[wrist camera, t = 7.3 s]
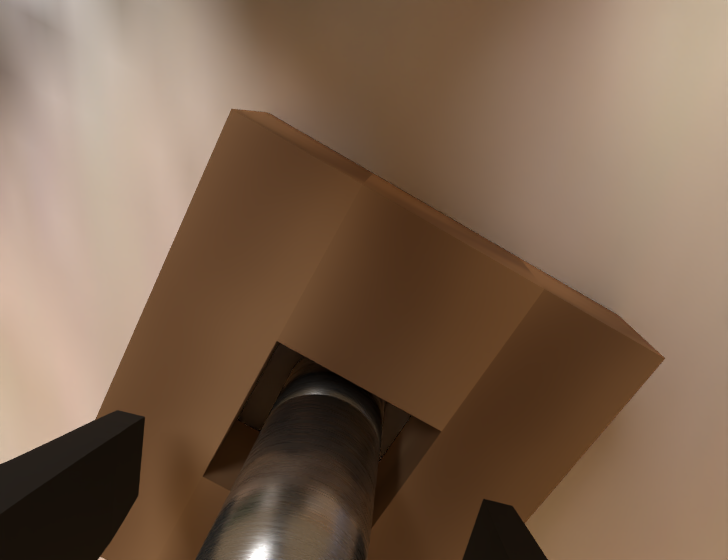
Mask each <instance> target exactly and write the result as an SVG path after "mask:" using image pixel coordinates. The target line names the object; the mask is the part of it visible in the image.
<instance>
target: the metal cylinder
mask: <svg viewBox="0 0 728 560" xmlns="http://www.w3.org/2000/svg"><path fill="white" fill-rule="evenodd" d="M384 408H385V400H383V399H382V398H380V397H378V396H376V395H374V394H373V393H371V392H369V391H367V390H365V389H363V388H362V387H360V386H358V385H356V384H354V383H352V382H351V381H349V380H347V379H345V378H343V377H342V376H340V375H338V374H336V373H334V372H332V371H331V370H329V369H327V368H325V367H323V366H322V365H320V364H318V363H316V362H314V361H312V360H311V359H309V358H307V357H305V356H304V357H303V358H302V359H301V360H300V361H299V362H298V363H297V364H296V365H295V366H294V368H293V369H292V371H291V373H290V375H289V377H288V379H287V381H286V383H285V385H284V387H283V389H282V390H281V392H280V394H279V396H278V398H277V400H276V402H275V404H274V406H273V408H272V410H271V412H270V414H269V416H268V418H267V420H266V422H265V424H264V426H263V428H262V430H261V432H260V434H259V435H258V437H257V439H256V441H255V443H254V445H253V447H252V449H251V451H250V453H249V455H248V457H247V459H246V461H245V463H244V465H243V467H242V469H241V471H240V473H239V475H238V477H237V479H236V480H235V482H234V484H233V486H232V488H231V490H230V492H229V494H228V496H227V498H226V500H225V502H224V504H223V506H222V508H221V510H220V512H219V514H218V516H217V518H216V520H215V522H214V524H213V525H212V527H211V529H210V531H209V533H208V535H207V537H206V539H205V541H204V543H203V545H202V547H201V549H200V551H199V553H198V555H197V557H196V559H195V560H368V553H369V544H370V535H371V526H372V517H373V508H374V499H375V490H376V481H377V472H378V463H379V454H380V445H381V436H382V426H383V417H384Z"/></svg>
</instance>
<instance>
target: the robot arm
mask: <svg viewBox="0 0 728 560" xmlns="http://www.w3.org/2000/svg"><path fill="white" fill-rule="evenodd" d="M144 424H145V417H144V416H140V415H136V414H132V413H128V412H123V411H119V410H116V411H114V412H112V413H109V414H107V415H105V416H103V417H100V418H98V419H96V420H94V421H92V422H90V423H88V424H86V425H84V426H82V427H79V428H77V429H75V430H73V431H71V432H69V433H67V434H65V435H63V436H61V437H59V438H57V439H54V440H52V441H50V442H48V443H46V444H44V445H42V446H40V447H37V448H35V449H33V450H31V451H29V452H27V453H25V454H23V455H20V456H18V457H16V458H14V459H12V460H9V461H7V462H5V463H2V464H0V560H98V559H99V557H100V556H101V555H102V553H103V552H104V551H105V549H106V548H107V546H108V545H109V544H110V542H111V541H112V539H113V538H114V536H115V534H116V533H117V531H118V530H119V528H120V526H121V525H122V523H123V521H124V520H125V518H126V516H127V515H128V513H129V511H130V509H131V508H132V506H133V504H134V502H135V501H136V499H137V497H138V495H139V483H140V471H141V460H142V448H143V436H144ZM462 560H548V559H547V558H546V556H545V555H544V553H543V552H542V550H541V549H540V547H539V546H538V544H537V543H536V541H535V539H534V538H533V536H532V535H531V533H530V532H529V530H528V528H527V527H526V525H525V524H524V522H523V521H522V519H521V518H520V516H519V515H518V513H517V512H516V510H515V509H514V507H513V506H511V505H507V504H503V503H499V502H495V501H491V500H487V499H483V501H482V504H481V507H480V510H479V513H478V515H477V518H476V521H475V524H474V527H473V530H472V533H471V536H470V539H469V542H468V545H467V547H466V550H465V553H464V556H463V559H462Z"/></svg>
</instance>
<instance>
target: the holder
mask: <svg viewBox="0 0 728 560" xmlns="http://www.w3.org/2000/svg"><path fill="white" fill-rule="evenodd" d="M279 343H281V344H283V345H285V346H287V347H289V348H291V349H292V350H294V351H296V352H298V353H300V354H301V355H303V356H305V357H307V358H309V359H311V360H312V361H314V362H316V363H318V364H320V365H322V366H323V367H325V368H327V369H329V370H331V371H332V372H334V373H336V374H338V375H340V376H342V377H343V378H345V379H347V380H349V381H351V382H352V383H354V384H356V385H358V386H360V387H362V388H363V389H365V390H367V391H369V392H371V393H373V394H374V395H376V396H378V397H380V398H382V399H383V400H385V401H387V402H389V403H391V404H393V405H394V406H396V407H398V408H400V409H402V410H403V411H405V412H407V413H409V414H411V415H412V416H411V417H410V419H409V420H408V422H407V423H406V425H405V426H404V427H403V429H402V430H401V432H400V433H399V435H398V436H397V438H396V439H395V441H394V442H393V443H392V445H391V446H390V448H389V449H388V451H387V452H386V454H385V455H384V456H383V458H382V459H381V461H380V462H379V464H378V472H377V481H376V490H375V499H374V508H373V517H372V526H371V535H370V544H369V553H368V560H462V559H463V556H464V553H465V550H466V547H467V545H468V542H469V539H470V536H471V533H472V530H473V527H474V524H475V521H476V518H477V515H478V513H479V510H480V507H481V504H482V501H483V499H487V500H491V501H495V502H499V503H503V504H507V505H511V506H513V507H514V509H515V510H516V512H517V513H518V515H519V516H520V518H521V519H522V521H523V522H524V523H525V522H526V521H527V520H528V519H529V518H530V516H531V515H532V514H533V513H534V512H535V511H536V509H537V508H538V507H539V506H540V505H541V504H542V502H543V501H544V500H545V499H546V498H547V497H548V495H549V494H550V493H551V492H552V491H553V489H554V488H555V487H556V486H557V485H558V484H559V482H560V481H561V480H562V479H563V478H564V477H565V475H566V474H567V473H568V472H569V471H570V470H571V468H572V467H573V466H574V465H575V464H576V462H577V461H578V460H579V459H580V458H581V457H582V455H583V454H584V453H585V452H586V451H587V450H588V448H589V447H590V446H591V445H592V444H593V443H594V441H595V440H596V439H597V438H598V437H599V435H600V434H601V433H602V432H603V431H604V430H605V428H606V427H607V426H608V425H609V424H610V423H611V421H612V420H613V419H614V418H615V417H616V416H617V414H618V413H619V412H620V411H621V410H622V409H623V407H624V406H625V405H626V404H627V403H628V401H629V400H630V399H631V398H632V397H633V396H634V394H635V393H636V392H637V391H638V390H639V389H640V387H641V386H642V385H643V384H644V383H645V382H646V380H647V379H648V378H649V377H650V376H651V374H652V373H653V372H654V371H655V370H656V369H657V367H658V366H659V365H660V364H661V363H662V362H663V360H664V359H665V358H664V357H663V356H662V355H661V354H660V353H659V352H658V351H656V350H655V349H654V348H653V347H652V346H651V345H650V344H649V343H648V342H647V341H646V340H645V339H643V338H642V337H641V336H640V335H639V334H638V333H637V332H636V331H635V330H634V329H633V328H632V327H630V326H629V325H628V324H627V323H626V322H625V321H624V320H623V319H622V318H621V317H620V316H619V315H617V314H615V313H614V312H612V311H610V310H608V309H607V308H605V307H603V306H601V305H600V304H598V303H596V302H594V301H593V300H591V299H589V298H588V297H586V296H584V295H582V294H581V293H579V292H577V291H575V290H574V289H572V288H570V287H569V286H567V285H565V284H563V283H562V282H560V281H558V280H556V279H555V278H553V277H551V276H550V275H548V274H546V273H544V272H543V271H541V270H539V269H537V268H536V267H534V266H532V265H531V264H529V263H527V262H525V261H524V260H522V259H520V258H518V257H517V256H515V255H513V254H511V253H510V252H508V251H506V250H505V249H503V248H501V247H499V246H498V245H496V244H494V243H492V242H491V241H489V240H487V239H486V238H484V237H482V236H480V235H479V234H477V233H475V232H473V231H472V230H470V229H468V228H467V227H465V226H463V225H461V224H460V223H458V222H456V221H454V220H453V219H451V218H449V217H447V216H446V215H444V214H442V213H441V212H439V211H437V210H435V209H434V208H432V207H430V206H428V205H427V204H425V203H423V202H422V201H420V200H418V199H416V198H415V197H413V196H411V195H409V194H408V193H406V192H404V191H403V190H401V189H399V188H397V187H396V186H394V185H392V184H390V183H389V182H387V181H385V180H384V179H382V178H380V177H378V176H377V175H375V174H373V173H371V172H370V171H368V170H366V169H364V168H363V167H361V166H359V165H358V164H356V163H354V162H352V161H351V160H349V159H347V158H345V157H344V156H342V155H340V154H339V153H337V152H335V151H333V150H332V149H330V148H328V147H326V146H325V145H323V144H321V143H320V142H318V141H316V140H314V139H313V138H311V137H309V136H307V135H306V134H304V133H302V132H300V131H299V130H297V129H295V128H294V127H292V126H290V125H288V124H287V123H285V122H283V121H281V120H280V119H278V118H276V117H275V116H273V115H271V114H269V113H266V112H257V111H247V110H238V109H231V111H230V114H229V116H228V118H227V121H226V123H225V125H224V127H223V130H222V132H221V134H220V137H219V139H218V141H217V143H216V146H215V148H214V150H213V152H212V155H211V157H210V159H209V162H208V164H207V166H206V168H205V171H204V173H203V175H202V178H201V180H200V182H199V184H198V187H197V189H196V191H195V194H194V196H193V198H192V200H191V203H190V205H189V207H188V210H187V212H186V214H185V216H184V219H183V221H182V223H181V225H180V228H179V230H178V232H177V235H176V237H175V239H174V241H173V244H172V246H171V248H170V251H169V253H168V255H167V257H166V260H165V262H164V264H163V267H162V269H161V271H160V273H159V276H158V278H157V280H156V283H155V285H154V287H153V289H152V292H151V294H150V296H149V298H148V301H147V303H146V305H145V308H144V310H143V312H142V314H141V317H140V319H139V321H138V324H137V326H136V328H135V330H134V333H133V335H132V337H131V340H130V342H129V344H128V346H127V349H126V351H125V353H124V356H123V358H122V360H121V362H120V365H119V367H118V369H117V371H116V374H115V376H114V378H113V381H112V383H111V385H110V387H109V390H108V392H107V394H106V397H105V399H104V401H103V403H102V406H101V408H100V410H99V413H98V415H97V417H96V419H98V418H100V417H103V416H105V415H107V414H109V413H112V412H114V411H116V410H119V411H123V412H128V413H132V414H136V415H140V416H144V417H145V424H144V436H143V448H142V460H141V471H140V483H139V495H138V497H137V499H136V501H135V502H134V504H133V506H132V508H131V509H130V511H129V513H128V515H127V516H126V518H125V520H124V521H123V523H122V525H121V526H120V528H119V530H118V531H117V533H116V534H115V536H114V538H113V539H112V541H111V542H110V544H109V545H108V546H107V548H106V549H105V551H104V552H103V553H102V555H101V556H100V557H102V558H104V559H106V560H195V559H196V557H197V555H198V553H199V551H200V549H201V547H202V545H203V543H204V541H205V539H206V537H207V535H208V533H209V531H210V529H211V527H212V525H213V524H214V522H215V520H216V518H217V516H218V514H219V512H220V510H221V508H222V506H223V504H224V502H225V500H226V498H227V496H228V494H229V492H230V490H231V488H232V486H233V484H234V482H235V480H236V479H237V477H238V475H239V473H240V471H241V469H242V467H243V465H244V463H245V461H246V459H247V457H248V455H249V453H250V451H251V449H252V447H253V445H254V443H255V441H256V439H257V437H258V435H259V434H260V432H259V431H257V430H255V429H253V428H251V427H249V426H248V425H246V424H244V423H242V422H240V421H238V420H237V419H238V417H239V415H240V413H241V412H242V410H243V408H244V406H245V404H246V403H247V401H248V399H249V397H250V395H251V394H252V392H253V390H254V388H255V386H256V384H257V383H258V381H259V379H260V377H261V375H262V374H263V372H264V370H265V368H266V366H267V365H268V363H269V361H270V359H271V357H272V355H273V354H274V352H275V350H276V348H277V346H278V345H279ZM96 419H95V420H96Z"/></svg>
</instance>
